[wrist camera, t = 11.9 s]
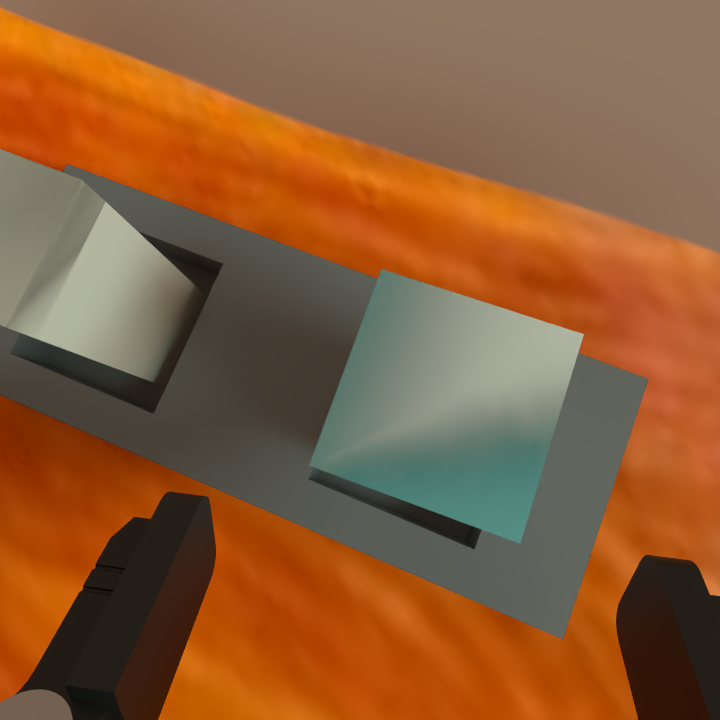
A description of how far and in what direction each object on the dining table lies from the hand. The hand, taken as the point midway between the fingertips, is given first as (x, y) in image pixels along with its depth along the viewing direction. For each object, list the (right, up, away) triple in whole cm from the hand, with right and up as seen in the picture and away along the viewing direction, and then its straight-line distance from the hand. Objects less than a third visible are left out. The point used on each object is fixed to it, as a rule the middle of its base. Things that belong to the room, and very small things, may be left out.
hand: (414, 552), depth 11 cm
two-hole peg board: (-3, +2, +13) cm, 13 cm away
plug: (+1, +1, +12) cm, 12 cm away
